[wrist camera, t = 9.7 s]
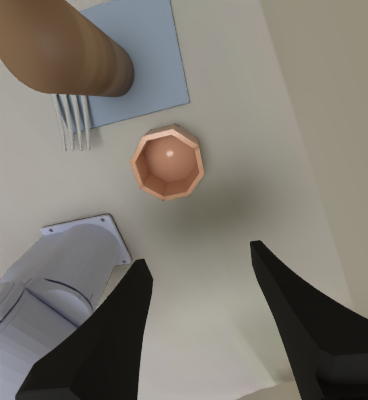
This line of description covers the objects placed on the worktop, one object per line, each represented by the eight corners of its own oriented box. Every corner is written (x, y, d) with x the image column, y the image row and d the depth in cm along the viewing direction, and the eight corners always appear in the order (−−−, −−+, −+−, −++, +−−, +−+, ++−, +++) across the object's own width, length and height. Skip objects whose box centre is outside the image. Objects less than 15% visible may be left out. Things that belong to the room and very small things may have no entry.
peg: (101, 103, 18) (28, 104, 10) (78, 51, 16) (-35, -1, 8) (141, 88, 17) (99, 77, 9) (122, 33, 15) (49, -43, 7)
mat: (72, 133, 19) (70, 133, 19) (24, 33, 16) (21, 31, 15) (189, 102, 18) (189, 102, 17) (166, -16, 14) (165, -19, 14)
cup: (152, 188, 22) (145, 205, 18) (133, 133, 19) (121, 141, 16) (204, 176, 21) (208, 192, 18) (193, 118, 18) (194, 122, 15)
